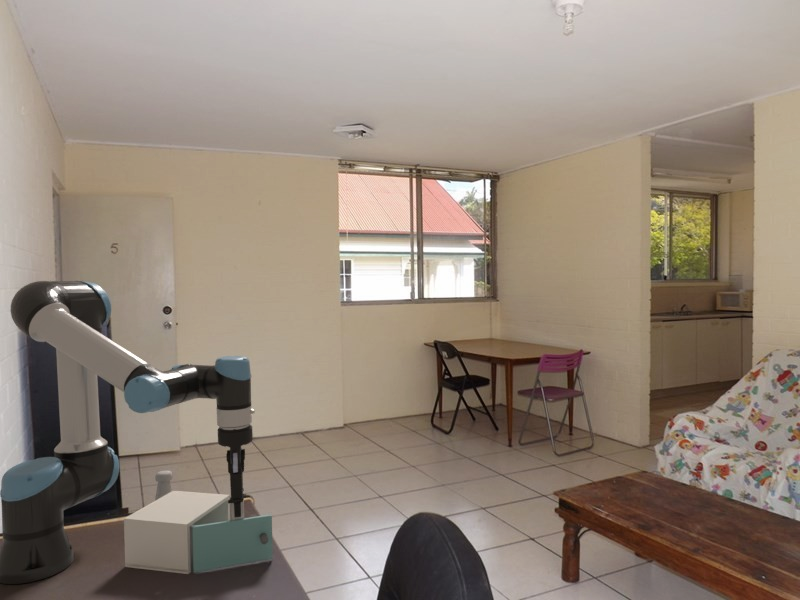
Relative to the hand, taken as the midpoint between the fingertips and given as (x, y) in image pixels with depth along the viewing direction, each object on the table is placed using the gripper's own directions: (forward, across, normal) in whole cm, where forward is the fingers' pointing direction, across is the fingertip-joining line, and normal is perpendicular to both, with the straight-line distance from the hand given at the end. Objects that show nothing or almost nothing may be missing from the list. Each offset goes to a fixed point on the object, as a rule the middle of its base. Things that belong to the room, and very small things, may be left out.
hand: (238, 528), depth 130 cm
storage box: (+8, +10, +14) cm, 19 cm away
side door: (+7, -2, +1) cm, 8 cm away
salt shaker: (+8, +32, +20) cm, 39 cm away
